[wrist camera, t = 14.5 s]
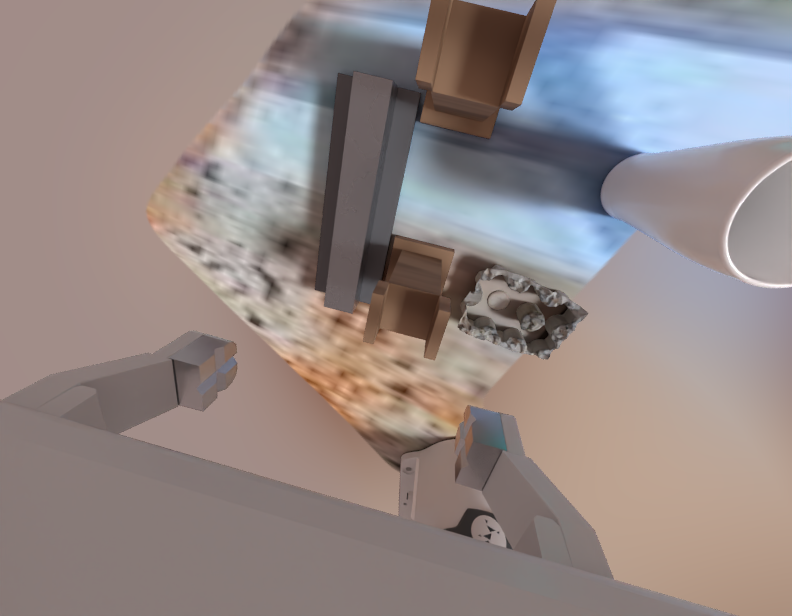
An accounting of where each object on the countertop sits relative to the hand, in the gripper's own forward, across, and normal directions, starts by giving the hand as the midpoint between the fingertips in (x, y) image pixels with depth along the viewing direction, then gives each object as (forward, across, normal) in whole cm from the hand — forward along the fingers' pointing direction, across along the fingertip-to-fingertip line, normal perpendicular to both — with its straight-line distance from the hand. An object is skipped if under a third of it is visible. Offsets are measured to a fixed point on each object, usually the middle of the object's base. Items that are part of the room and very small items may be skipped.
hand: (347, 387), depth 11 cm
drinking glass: (+24, -17, -9) cm, 31 cm away
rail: (+22, +6, -2) cm, 23 cm away
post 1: (+23, -1, +3) cm, 24 cm away
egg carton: (+24, -12, +4) cm, 27 cm away
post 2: (+23, -1, -13) cm, 26 cm away
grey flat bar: (+23, +6, -2) cm, 24 cm away
